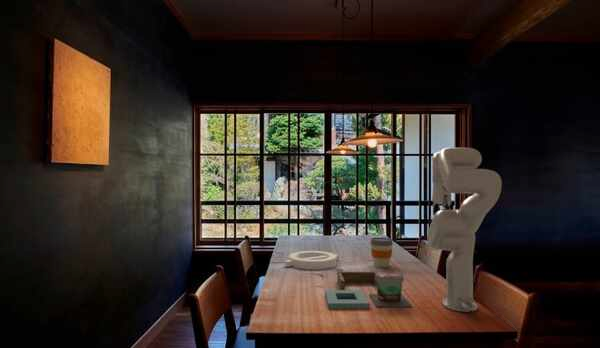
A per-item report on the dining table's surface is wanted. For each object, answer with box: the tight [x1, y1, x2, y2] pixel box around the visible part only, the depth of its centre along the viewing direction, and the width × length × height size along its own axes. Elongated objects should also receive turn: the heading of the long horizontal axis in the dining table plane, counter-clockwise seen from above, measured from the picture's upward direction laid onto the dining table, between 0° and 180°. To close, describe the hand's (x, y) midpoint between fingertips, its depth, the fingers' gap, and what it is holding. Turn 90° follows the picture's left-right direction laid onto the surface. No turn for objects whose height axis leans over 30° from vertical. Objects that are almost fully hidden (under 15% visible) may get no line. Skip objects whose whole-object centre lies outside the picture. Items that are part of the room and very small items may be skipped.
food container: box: [375, 273, 405, 303], centre depth 142 cm, size 12×6×10 cm, turn 102°
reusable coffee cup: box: [370, 237, 393, 268], centre depth 202 cm, size 13×13×15 cm
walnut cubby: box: [336, 271, 381, 290], centre depth 162 cm, size 16×19×5 cm
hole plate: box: [324, 289, 371, 309], centre depth 143 cm, size 16×16×2 cm
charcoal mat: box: [369, 293, 413, 308], centre depth 143 cm, size 14×14×1 cm
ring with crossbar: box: [284, 250, 340, 270], centre depth 207 cm, size 28×28×5 cm
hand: (441, 216), depth 162 cm, fingers open, 9 cm apart
